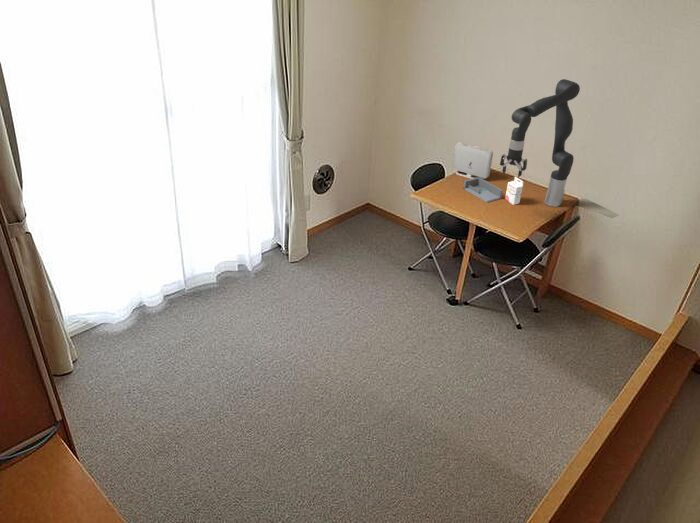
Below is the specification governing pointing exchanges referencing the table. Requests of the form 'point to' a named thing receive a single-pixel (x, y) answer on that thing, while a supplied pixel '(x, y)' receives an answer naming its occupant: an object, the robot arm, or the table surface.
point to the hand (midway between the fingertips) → (511, 174)
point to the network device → (472, 160)
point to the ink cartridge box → (514, 191)
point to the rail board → (483, 189)
